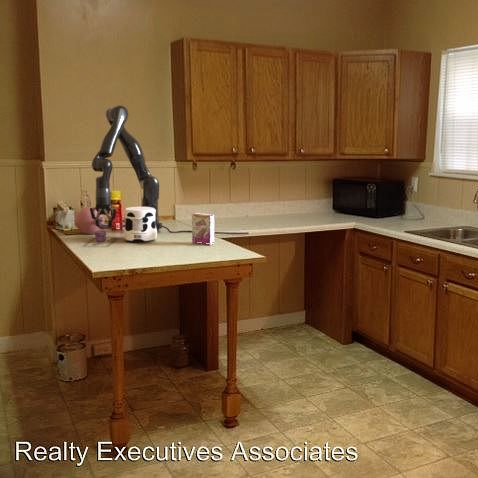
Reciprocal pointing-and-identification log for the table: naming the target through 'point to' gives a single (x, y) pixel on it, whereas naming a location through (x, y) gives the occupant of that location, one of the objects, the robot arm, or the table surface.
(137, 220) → the white black spotted canister
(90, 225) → the pink piggy bank
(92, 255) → the table surface
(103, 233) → the purple stepped cylinder
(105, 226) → the dish top
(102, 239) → the dish bottom
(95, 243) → the brown board with circles
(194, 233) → the candy bar box
